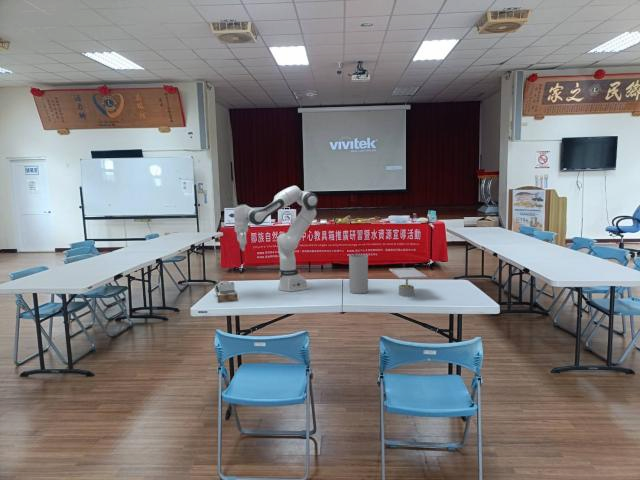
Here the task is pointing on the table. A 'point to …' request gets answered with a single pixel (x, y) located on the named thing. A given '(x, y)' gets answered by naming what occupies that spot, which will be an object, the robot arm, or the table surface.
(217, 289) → the hinge
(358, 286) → the cylinder vase
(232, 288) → the block
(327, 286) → the table surface
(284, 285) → the robot arm
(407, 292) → the solar panel model
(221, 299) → the stand
